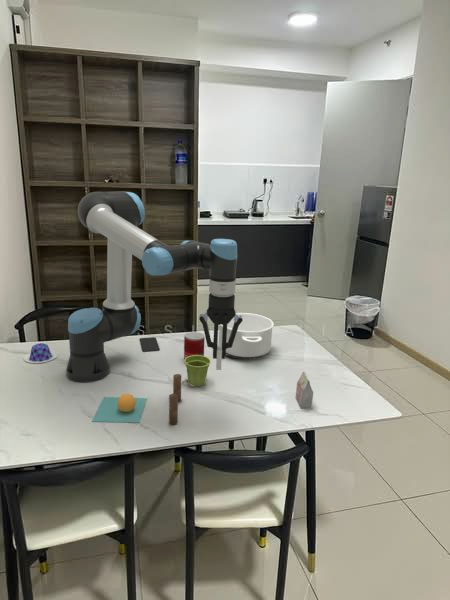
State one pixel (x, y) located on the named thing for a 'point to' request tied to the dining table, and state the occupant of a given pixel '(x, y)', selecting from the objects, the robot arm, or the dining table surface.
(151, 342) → the phone
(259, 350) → the pot
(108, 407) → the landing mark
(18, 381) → the dining table surface
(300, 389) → the white red carton
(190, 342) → the canned food
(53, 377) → the dining table surface
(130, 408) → the ball
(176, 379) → the post far
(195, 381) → the plant pot
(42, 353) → the pudding
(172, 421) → the post near
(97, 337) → the robot arm
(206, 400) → the dining table surface
